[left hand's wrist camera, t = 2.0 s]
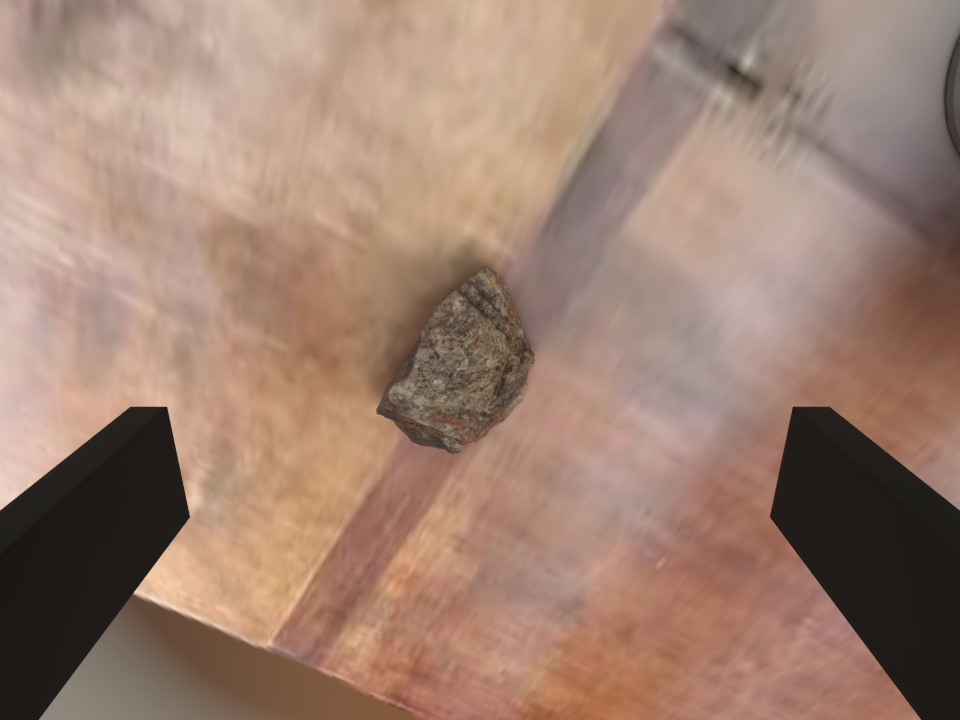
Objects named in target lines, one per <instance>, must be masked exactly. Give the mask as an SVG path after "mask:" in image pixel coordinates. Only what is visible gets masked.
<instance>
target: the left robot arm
mask: <svg viewBox="0 0 960 720" xmlns="http://www.w3.org/2000/svg"><path fill="white" fill-rule="evenodd" d="M946 110H947V119H948V125H949V130H950V133H951V136H952V139H953V142H954V144H955V146H956V148H957V150H958V152H959V153H960V39H959V41H958V44H957V47H956V49H955V52H954V55H953V59H952V62H951V66H950V71H949V76H948V82H947V91H946ZM189 518H190V515H189V510H188V505H187V500H186V495H185V491H184V486H183V481H182V476H181V471H180V467H179V462H178V457H177V452H176V447H175V443H174V438H173V433H172V428H171V423H170V419H169V414H168V409H167V407H130V408H128V409H127V410H126V411H125V412H123V413H122V414H121V415H120V416H118V417H117V418H116V419H115V420H113V421H112V422H111V423H110V424H108V425H107V426H106V427H105V428H103V429H102V430H101V431H100V432H98V433H97V434H96V435H95V436H93V437H92V438H91V439H90V440H88V441H87V442H86V443H84V444H83V445H82V446H81V447H79V448H78V449H77V450H76V451H74V452H73V453H72V454H71V455H69V456H68V457H67V458H66V459H64V460H63V461H62V462H61V463H59V464H58V465H57V466H56V467H54V468H53V469H52V470H51V471H49V472H48V473H47V474H46V475H44V476H43V477H42V478H41V479H39V480H38V481H37V482H36V483H34V484H33V485H32V486H30V487H29V488H28V489H27V490H25V491H24V492H23V493H22V494H20V495H19V496H18V497H17V498H15V499H14V500H13V501H12V502H10V503H9V504H8V505H7V506H5V507H4V508H3V509H2V510H0V720H39V719H40V717H41V716H42V715H43V713H44V712H45V711H46V709H47V708H48V707H49V705H50V704H51V702H52V701H53V700H54V699H55V697H56V696H57V695H58V693H59V692H60V691H61V689H62V688H63V686H64V685H65V684H66V682H67V681H68V680H69V678H70V677H71V676H72V674H73V673H74V672H75V670H76V669H77V668H78V666H79V665H80V664H81V662H82V661H83V660H84V658H85V657H86V656H87V654H88V653H89V652H90V650H91V649H92V648H93V646H94V645H95V644H96V642H97V641H98V640H99V638H100V637H101V636H102V634H103V633H104V632H105V630H106V629H107V628H108V626H109V625H110V624H111V622H112V621H113V620H114V618H115V617H116V615H117V614H118V613H119V611H120V610H121V609H122V607H123V606H124V605H125V603H126V602H127V601H128V599H129V598H130V597H131V595H132V594H133V593H134V591H135V590H136V589H137V587H138V586H139V585H140V583H141V582H142V581H143V579H144V578H145V577H146V575H147V574H148V573H149V571H150V570H151V569H152V567H153V566H154V565H155V563H156V562H157V561H158V559H159V558H160V557H161V555H162V554H163V553H164V551H165V550H166V549H167V547H168V546H169V545H170V543H171V542H172V540H173V539H174V538H175V536H176V535H177V534H178V532H179V531H180V530H181V528H182V527H183V526H184V524H185V523H186V522H187V520H188V519H189ZM770 518H771V519H772V520H773V522H774V523H775V524H776V526H777V527H778V528H779V530H780V531H781V532H782V534H783V535H784V536H785V538H786V539H787V540H788V542H789V543H790V545H791V546H792V547H793V549H794V550H795V551H796V553H797V554H798V555H799V557H800V558H801V559H802V561H803V562H804V563H805V565H806V566H807V567H808V569H809V570H810V571H811V573H812V574H813V575H814V577H815V578H816V579H817V581H818V582H819V583H820V585H821V586H822V587H823V589H824V590H825V591H826V593H827V594H828V595H829V597H830V598H831V599H832V601H833V602H834V603H835V605H836V606H837V607H838V609H839V610H840V611H841V613H842V614H843V616H844V617H845V618H846V620H847V621H848V622H849V624H850V625H851V626H852V628H853V629H854V630H855V632H856V633H857V634H858V636H859V637H860V638H861V640H862V641H863V642H864V644H865V645H866V646H867V648H868V649H869V650H870V652H871V653H872V654H873V656H874V657H875V658H876V660H877V661H878V662H879V664H880V665H881V666H882V668H883V669H884V670H885V672H886V673H887V674H888V676H889V677H890V678H891V680H892V681H893V682H894V684H895V685H896V686H897V688H898V689H899V691H900V692H901V693H902V695H903V696H904V697H905V699H906V700H907V701H908V703H909V704H910V705H911V707H912V708H913V709H914V711H915V712H916V713H917V715H918V716H919V717H920V719H921V720H960V510H958V509H957V508H956V507H955V506H953V505H952V504H951V503H950V502H948V501H947V500H946V499H945V498H943V497H942V496H941V495H940V494H938V493H937V492H936V491H935V490H933V489H932V488H931V487H930V486H928V485H927V484H926V483H924V482H923V481H922V480H921V479H919V478H918V477H917V476H916V475H914V474H913V473H912V472H911V471H909V470H908V469H907V468H906V467H904V466H903V465H902V464H901V463H899V462H898V461H897V460H896V459H894V458H893V457H892V456H891V455H889V454H888V453H887V452H886V451H884V450H883V449H882V448H881V447H879V446H878V445H877V444H876V443H874V442H873V441H872V440H870V439H869V438H868V437H867V436H865V435H864V434H863V433H862V432H860V431H859V430H858V429H857V428H855V427H854V426H853V425H852V424H850V423H849V422H848V421H847V420H845V419H844V418H843V417H842V416H840V415H839V414H838V413H837V412H835V411H834V410H833V409H832V408H830V407H793V409H792V414H791V419H790V423H789V428H788V433H787V438H786V443H785V447H784V452H783V457H782V462H781V467H780V471H779V476H778V481H777V486H776V491H775V495H774V500H773V505H772V510H771V515H770Z"/></svg>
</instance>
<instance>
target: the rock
mask: <svg viewBox="0 0 960 720" xmlns="http://www.w3.org/2000/svg"><path fill="white" fill-rule="evenodd" d="M533 364H534V354H533V352H532V351H531V349H530V345H529V341H528V340H527V338H526V336H525V334H524V331H523V328H522V325H521V320H520V318H519V315H518V312H517V310H516V309H515V308H514V305H513V303H512V300H511V297H510V294H509V290H508V287H507V285H506V284H505V283H504V282H502V280H501V278H500V277H499V275H498V273H496V272H494V271H493V270H491V269H488V268H484V269H482V270H480V271H479V272H477V273H476V274H475V275H472V276H471V277H470V278H469V279H468V280H467V281H465V282H463V283H462V284H460V285H459V287H458V288H457V289H455V290H454V291H453V292H452V293H450V294H448V295H447V296H446V297H445V298H444V299H443V300H442V301H441V302H440V304H439V305H438V306H437V307H436V308H435V309H434V311H433V312H432V314H431V315H430V317H429V318H428V321H427V323H426V326H425V328H424V329H423V331H422V333H421V336H420V338H419V339H418V341H417V343H416V345H415V347H414V349H413V350H412V352H411V353H410V355H409V356H408V357H407V358H406V359H405V360H404V362H403V363H402V364H401V366H400V368H399V369H398V371H397V374H396V376H395V378H394V379H393V380H392V382H391V383H390V384H389V385H388V386H387V388H386V390H385V393H384V395H383V398H382V400H381V402H380V404H379V406H378V407H377V409H376V410H377V414H379V415H383V416H384V417H385V418H388V419H391V420H393V421H394V422H395V424H396V426H397V427H398V428H400V430H401V431H402V432H404V433H405V434H406V435H407V436H408V437H409V438H410V439H411V441H412V442H414V443H416V444H419V445H422V446H430V447H436V448H439V449H445V450H447V451H448V452H449V453H450V454H452V455H454V454H456V453H459V452H460V449H461V448H462V447H464V446H466V445H470V444H473V443H475V442H478V441H479V439H481V438H482V437H484V436H486V434H487V433H488V431H489V430H490V429H491V428H493V427H495V426H496V425H498V424H499V423H500V422H503V421H504V420H505V419H506V418H507V417H508V416H509V414H510V413H511V412H512V410H513V408H515V407H516V406H517V405H518V404H519V403H520V402H521V401H522V399H523V397H524V395H525V394H524V392H525V390H526V386H527V374H528V371H529V369H530V368H531V367H532V366H533Z"/></svg>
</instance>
